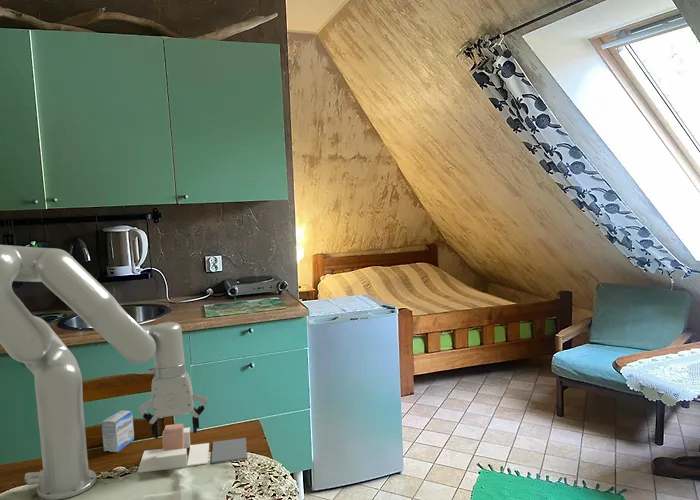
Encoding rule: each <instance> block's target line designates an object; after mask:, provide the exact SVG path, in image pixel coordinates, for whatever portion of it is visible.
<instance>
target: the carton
mask: <svg viewBox="0 0 700 500" xmlns="http://www.w3.org/2000/svg"><path fill="white" fill-rule="evenodd" d="M183 428H184V444H185V449H176V450H168V451H164V443H163V442H162V448H157V449H156V448H155V449H148V450H144V452H143V453H142V457H141V460H140V462H139V465H138V468H137V474H140V473H141V474H142V473H149V472H155V471H164V470H172V469H179V468H181V469H182V468H186V467H194V466H195V465H196V466H201V465H200V464H204V465H208V464H209V463H208V462H209V451H210V442H208V443H207V442H205V443H199V444H198V443H197V444H191V436H190V435H191V432H190V431H191V426H190V427H183ZM163 433H164V430H163V431H162V438H163ZM187 449H189V452H188V453H187Z"/></svg>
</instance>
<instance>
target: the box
mask: <svg viewBox="0 0 700 500" xmlns="http://www.w3.org/2000/svg"><path fill="white" fill-rule="evenodd" d="M184 428H185V427H184V423H175V424H166V425H165V426H164V430H163V431H164V433H163V432H162V435H163V437H162V444H163V443H164V451H168V450H176V449H185V444H184Z"/></svg>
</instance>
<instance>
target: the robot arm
mask: <svg viewBox="0 0 700 500" xmlns="http://www.w3.org/2000/svg"><path fill="white" fill-rule="evenodd" d="M13 282H30V283H33V282H34V283H42V284H43V285H44V286H45V287H46V288H47V289H48V290H50V291H51V292H52V293H53V294H54V295H55V296H57V297H58V298H59V299H60V300H61V301H62V302H64V303H65V304H66V305H67V307H69V308H70V309H71V310H72V311H73V312H74V313H75V314H76V315H77V316H78V317H80V319H82V321H83V322H84V323H86V324H87V325H88V326H89V327H91V328H92V329H93V330H95V331H96V332H97V333H98V334H99V335H100V336H101V337H102V338H103V339H104V340H105V341H106V342H107V343H108V344H109V345H111V346H112V348H114V349H115V350H116V351H117V352H118V353H119V354H120V355H122V356H123V358H125V360H126V361H128V362H130V363H132V364H135V365H142V364H145V363H147V362H149V361H151V360H152V359H153V365H154V366H153V367H151V368H148V374H149V375H151V374H152V375H153V378H152V381H151V399H149V400H148V401H146V402H144V403H142V404H141V405H139V407H138V412H139V413H140V415H141V416H142V418H143V419H144V420H145V421H147V422H148V423H149V424H150V426H151V434H152V435H154V439H159V436H160V425H159V418H166V417H173V416H181V415H182V416H183V415H187V414H190V415H191V416H192V429H193V430H192V431H193V433H194V434H197V432H198V429H200V420H199V416H200V415H201V414H202V413H203V411H204V410H205V408H206V406H207V404H208V400H209V399H208V397H207V396H204V395H200V394H196V393H194V392H193V386H192V381H191V377H190V374H189V372H188V371H186V361H185V351H184V350H185V349H184V340H183V331H182V330H183V329H182V326H181V324H180V323H178V322H173V321H168V322H161V323H157V324H155V325H140V324H139V323H138V322H137V321H136V320H135V319H134V318H133V317H131V315H130V314H128V312H127V311H126V310H124V308H123V307H122V306H121V305H120V303H119V302H118V301H117V300H116V298H115V297H114V296H113V295H112V294H111V293H110V292H109V291H108V290H107V288H105V287H104V286H103V285H102V284H101V282H99V281H98V280H97V279H96V278H94V276H93V275H92V274H91V273H90V272H88V270H86V268H85V267H83V266H82V265H81V264H80V263H79V262H78V261H77V260H76V259H75V258H74V257H73V256H72V255H71V254H70V253H69V252H68V251H67V250H64V249H61V248H54V247H51V248H50V247H34V246H22V245H12V244H11V245H8V244H7V245H6V244H0V345H1V346H2V348H3V349H4V350H5V353H7V354H8V356H9V357H11V358H12V359H13V360H14V361H16V362H19V363H23V365H25V367H26V368H27V369H28V370H29V371H30V372H31V373H32V375H34V376H33V377H34V389H35V390H34V391H35V398H36V399H35V401H36V410H37V419H38V430H39V439H40V449H41V461H42V469H40V471H35V472H33V471H32V472H26V473H25V474H24V482H25V483H26V486H32V485H38V486H37V488H36V491H37V495H38V497H39V498H41V499H44V500H62V499H63V500H64V499H67V498H71V497H75V496H77V495H80V494H82V493H84V492H86V491H87V490H89V489H90V488H92V487H93V486H94V485H95V483H96V482H97V473H96V472H95V471H94V470H92V469H89V459H88V448H87V445H88V444H87V435H86V422H85V411H84V399H83V397H84V396H83V393H84V392H83V377H82V372H81V369H80V365H79V363H78V360H77V359H76V357H75V355H74V354H73V352H71V350H70V349H69V348H68V347H67V345H66V344H65V343H64V341H63V340H61V338H60V337H59V336H58V335H57V333H55V331H54V330H53V329H52V328H51V326H50V325H49V324H48V322H46V320H44V319H43V318H41V317H38V316H36V315H33V314H32V313H31V312H30V310H29V309H28V308H27V307H26V306H25V304H24V302H22V301H21V299H20V298H19V297H18V296H17V294H16V293H15V292H14V289H13V286H12V285H13ZM195 401H197V402H199V403H200V405H199V406H198V407H195ZM150 407H151V409H152V414H151V413H150V412H148V411H147V409H148V408H149V409H150Z"/></svg>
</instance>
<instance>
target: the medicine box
mask: <svg viewBox="0 0 700 500" xmlns="http://www.w3.org/2000/svg"><path fill="white" fill-rule="evenodd" d="M133 418H134V417H133V411H131V410H119V411H117V412H115V413H113V414H112V415H111V416H109V417H107V418H106V419H104V420H102V421H101V431H102V432H101V433H102V435H101V436H102V443H103V445H102V446H103V452H106V451H109V453H119V452H121V451H122V450H123V449H124V448H126V447H127V446H128V445H130V444H131V443H132V442H133V441H134V440H135V432H134V431H135V430H134V419H133Z"/></svg>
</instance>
